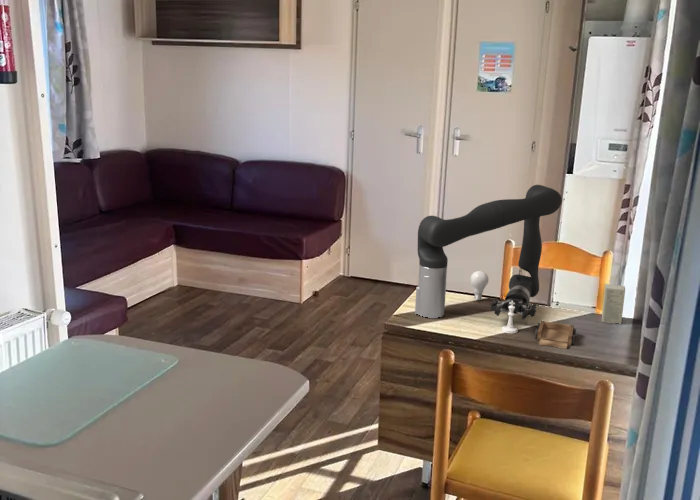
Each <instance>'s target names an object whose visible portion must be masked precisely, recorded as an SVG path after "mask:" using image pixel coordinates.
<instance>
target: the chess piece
mask: <svg viewBox="0 0 700 500" xmlns="http://www.w3.org/2000/svg"><path fill="white" fill-rule="evenodd" d="M509 304H511V306H509V311H510V312H507V315H508V321H507V324H506V325H504V326H502V328H501V331H502V332H504V333H507V334H516V333H518V332H519V331H518V328H517V327H516V326H515V325H514V323H513V320H514V319H513V318H514V317H513V316H515V315H516V314H514V313H513V311H514V309H515V306H513V304H515V303H513V301H511V302H509Z"/></svg>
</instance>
